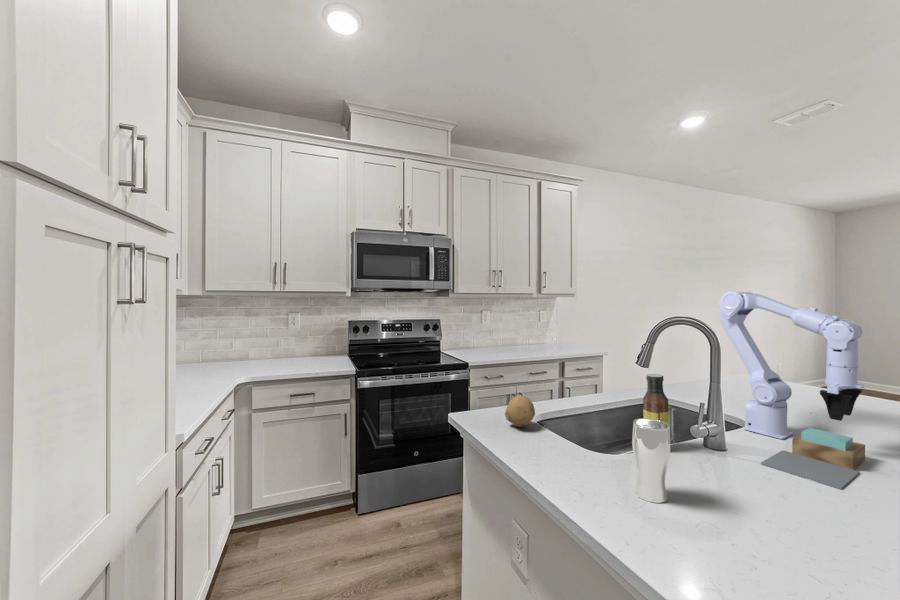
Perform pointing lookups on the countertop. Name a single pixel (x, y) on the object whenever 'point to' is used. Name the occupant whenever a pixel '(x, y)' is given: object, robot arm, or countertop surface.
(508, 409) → the tan round lump
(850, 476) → the mat
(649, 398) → the sauce bottle
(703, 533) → the countertop surface
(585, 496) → the countertop surface
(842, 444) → the tile
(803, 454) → the block
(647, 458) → the beer glass
